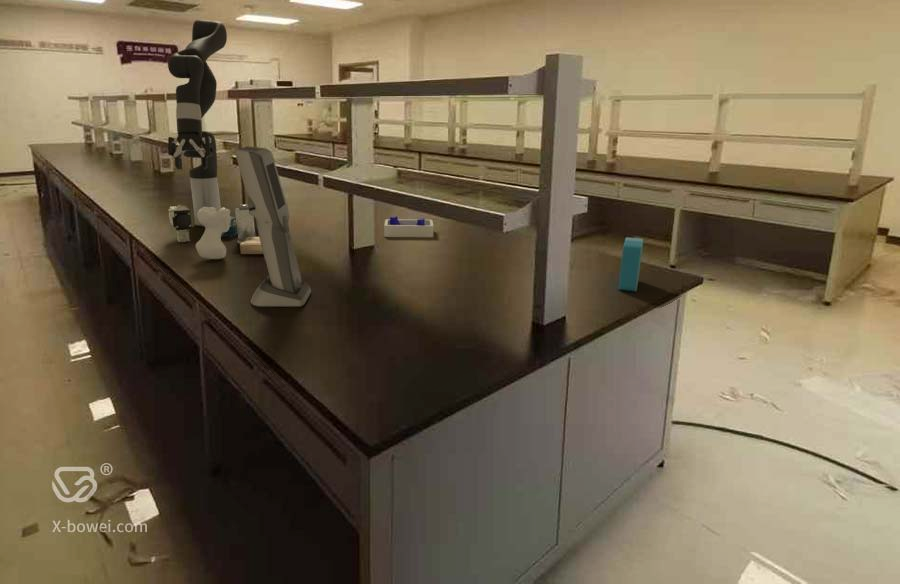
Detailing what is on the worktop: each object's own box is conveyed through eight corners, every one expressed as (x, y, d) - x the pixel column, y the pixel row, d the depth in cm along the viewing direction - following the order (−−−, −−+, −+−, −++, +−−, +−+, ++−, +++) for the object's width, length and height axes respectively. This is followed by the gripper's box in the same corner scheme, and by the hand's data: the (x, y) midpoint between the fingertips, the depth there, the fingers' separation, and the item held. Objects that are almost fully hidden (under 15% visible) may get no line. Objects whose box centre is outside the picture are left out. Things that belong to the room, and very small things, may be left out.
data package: (621, 278, 160) (626, 236, 157) (638, 280, 159) (643, 237, 155) (617, 291, 150) (623, 245, 146) (636, 293, 148) (642, 247, 144)
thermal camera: (259, 291, 143) (246, 145, 132) (312, 291, 144) (304, 146, 133) (246, 307, 132) (231, 150, 121) (303, 307, 133) (293, 151, 122)
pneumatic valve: (188, 236, 196) (184, 201, 192) (194, 244, 186) (190, 207, 182) (170, 238, 193) (165, 202, 189) (175, 246, 183) (170, 208, 180)
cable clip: (426, 234, 208) (426, 217, 206) (421, 237, 204) (421, 220, 202) (395, 231, 211) (395, 215, 210) (390, 233, 207) (390, 217, 205)
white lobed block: (190, 261, 167) (184, 209, 162) (219, 252, 177) (213, 203, 172) (217, 265, 164) (211, 212, 159) (244, 256, 174) (239, 206, 169)
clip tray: (385, 230, 212) (385, 219, 211) (432, 230, 213) (432, 219, 212) (384, 237, 202) (384, 225, 200) (433, 237, 203) (433, 226, 202)
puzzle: (241, 233, 203) (239, 216, 201) (233, 237, 197) (231, 219, 195) (224, 232, 203) (222, 215, 201) (216, 236, 198) (214, 219, 196)
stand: (249, 245, 186) (248, 236, 185) (281, 246, 186) (280, 236, 185) (240, 253, 176) (239, 243, 175) (274, 253, 177) (273, 243, 176)
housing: (240, 240, 193) (236, 203, 189) (259, 240, 193) (255, 203, 190) (234, 244, 187) (231, 206, 183) (254, 244, 188) (251, 207, 184)
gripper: (215, 120, 194) (217, 170, 196) (174, 121, 195) (177, 170, 197) (204, 116, 186) (206, 168, 188) (161, 117, 187) (164, 168, 189)
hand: (191, 169), depth 193 cm, fingers open, 8 cm apart
